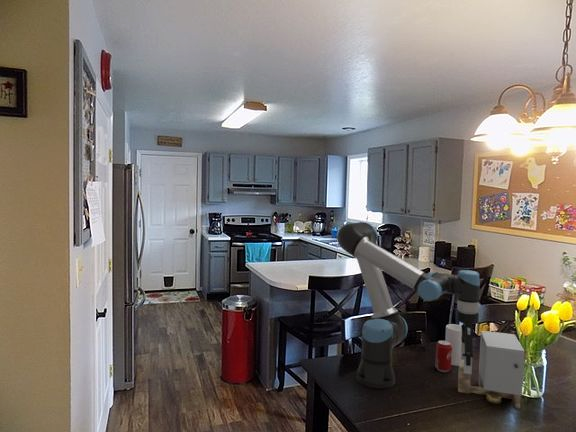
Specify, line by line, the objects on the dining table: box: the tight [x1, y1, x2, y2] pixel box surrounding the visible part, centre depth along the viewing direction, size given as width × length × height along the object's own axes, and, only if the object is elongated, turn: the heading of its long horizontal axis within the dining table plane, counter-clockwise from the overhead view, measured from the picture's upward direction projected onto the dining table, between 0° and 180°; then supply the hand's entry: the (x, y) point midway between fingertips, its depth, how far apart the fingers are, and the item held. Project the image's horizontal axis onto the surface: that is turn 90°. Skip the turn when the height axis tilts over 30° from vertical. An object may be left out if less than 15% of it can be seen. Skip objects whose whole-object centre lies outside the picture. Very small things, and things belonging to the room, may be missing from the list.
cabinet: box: [477, 330, 525, 397], centre depth 156 cm, size 12×19×22 cm, turn 161°
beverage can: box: [434, 340, 452, 373], centre depth 179 cm, size 6×6×12 cm
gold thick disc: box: [485, 392, 503, 404], centre depth 154 cm, size 5×5×2 cm
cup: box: [444, 323, 464, 367], centre depth 188 cm, size 8×8×16 cm
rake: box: [457, 362, 521, 410], centre depth 156 cm, size 20×10×10 cm, turn 71°
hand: (466, 366), depth 161 cm, fingers open, 13 cm apart
